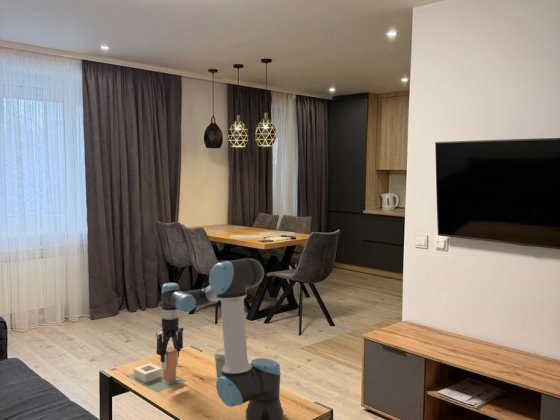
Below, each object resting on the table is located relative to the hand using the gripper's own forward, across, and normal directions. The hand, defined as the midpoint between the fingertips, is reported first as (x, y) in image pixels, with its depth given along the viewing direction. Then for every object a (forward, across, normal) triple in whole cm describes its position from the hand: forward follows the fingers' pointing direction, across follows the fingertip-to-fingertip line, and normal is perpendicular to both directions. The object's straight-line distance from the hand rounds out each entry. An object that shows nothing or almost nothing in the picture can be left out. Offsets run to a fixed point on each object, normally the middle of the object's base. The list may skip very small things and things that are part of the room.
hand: (169, 366), depth 224 cm
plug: (+6, 0, 0) cm, 6 cm away
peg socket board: (+8, +3, -6) cm, 10 cm away
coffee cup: (+8, -22, +12) cm, 26 cm away
